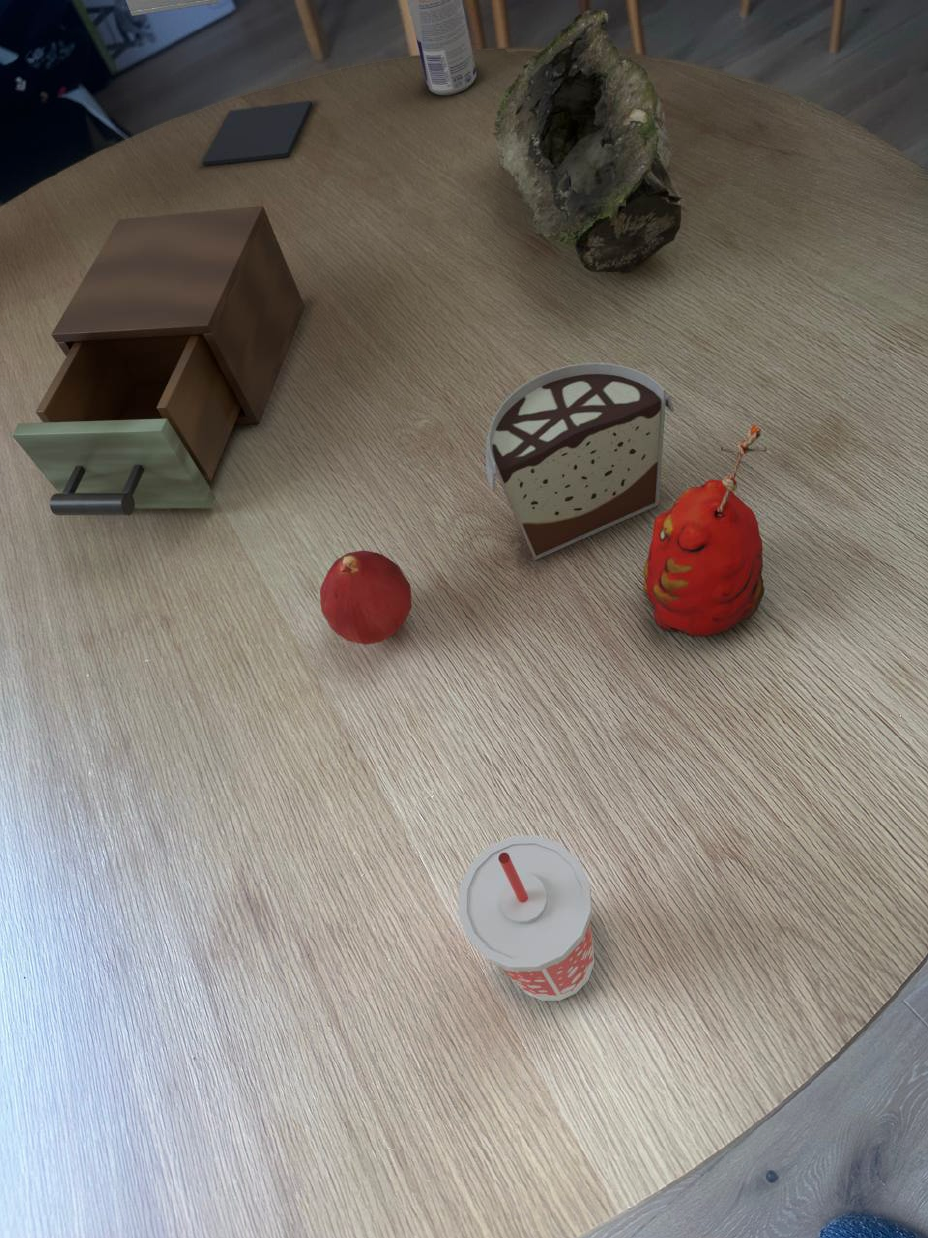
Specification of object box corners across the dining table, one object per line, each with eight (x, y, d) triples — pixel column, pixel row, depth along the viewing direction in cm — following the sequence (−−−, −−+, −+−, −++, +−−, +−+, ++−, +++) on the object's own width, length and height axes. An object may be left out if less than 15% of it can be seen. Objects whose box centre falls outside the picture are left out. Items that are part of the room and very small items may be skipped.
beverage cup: (594, 887, 53) (560, 774, 42) (622, 1003, 50) (594, 913, 38) (484, 912, 54) (422, 807, 42) (504, 1029, 50) (442, 948, 39)
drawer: (193, 553, 73) (139, 477, 66) (49, 552, 76) (-15, 479, 69) (261, 383, 82) (220, 302, 75) (131, 389, 85) (81, 311, 79)
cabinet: (259, 423, 81) (207, 324, 73) (114, 427, 84) (50, 334, 76) (305, 306, 88) (263, 205, 80) (171, 314, 92) (118, 218, 84)
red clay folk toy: (667, 543, 65) (656, 370, 53) (776, 562, 62) (790, 385, 50) (634, 637, 62) (613, 474, 50) (748, 661, 59) (755, 496, 47)
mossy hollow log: (643, 355, 82) (777, 213, 72) (518, 294, 76) (645, 130, 66) (593, 164, 98) (697, 25, 88) (485, 101, 92) (584, -56, 82)
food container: (637, 440, 71) (626, 329, 63) (678, 496, 67) (673, 385, 59) (481, 509, 70) (450, 407, 62) (514, 569, 67) (486, 468, 59)
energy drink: (455, 64, 108) (429, -58, 98) (487, 76, 105) (463, -48, 95) (418, 88, 106) (388, -33, 97) (449, 101, 103) (421, -23, 94)
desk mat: (204, 166, 107) (202, 161, 106) (231, 114, 112) (229, 110, 112) (288, 156, 104) (286, 152, 104) (312, 104, 109) (311, 100, 109)
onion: (327, 621, 67) (286, 549, 61) (401, 581, 68) (368, 505, 62) (361, 681, 64) (320, 611, 58) (438, 638, 65) (406, 564, 58)
